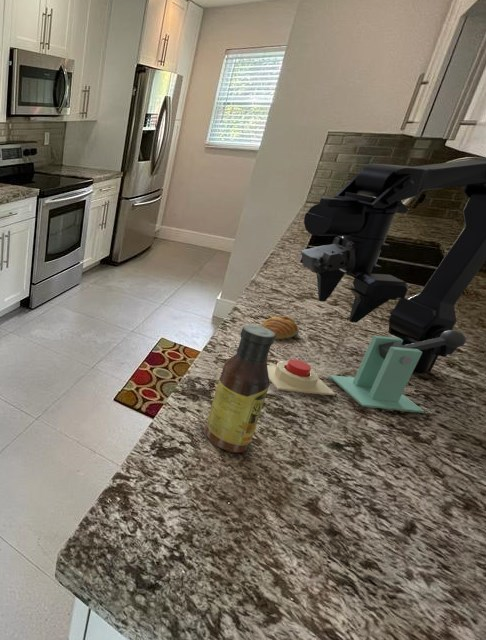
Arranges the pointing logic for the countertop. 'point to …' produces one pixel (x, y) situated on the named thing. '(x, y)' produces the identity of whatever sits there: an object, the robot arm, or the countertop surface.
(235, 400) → the sauce bottle
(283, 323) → the pastry
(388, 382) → the lever bracket
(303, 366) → the button
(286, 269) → the countertop surface
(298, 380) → the button block
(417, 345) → the press lever
